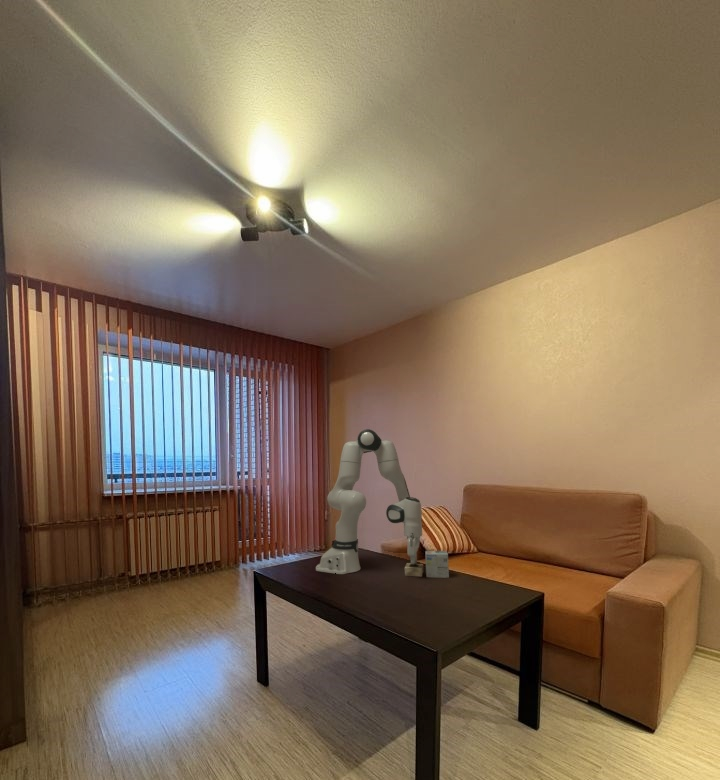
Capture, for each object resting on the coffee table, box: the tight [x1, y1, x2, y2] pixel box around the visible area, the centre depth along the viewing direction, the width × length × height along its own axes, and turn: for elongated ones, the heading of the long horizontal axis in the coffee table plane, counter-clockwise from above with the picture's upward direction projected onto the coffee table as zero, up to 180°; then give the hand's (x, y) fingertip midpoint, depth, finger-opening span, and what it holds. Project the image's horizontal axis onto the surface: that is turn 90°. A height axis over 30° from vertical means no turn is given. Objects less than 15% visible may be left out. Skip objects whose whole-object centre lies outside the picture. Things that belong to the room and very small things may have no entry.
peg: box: [409, 551, 418, 567], centre depth 195 cm, size 3×3×9 cm
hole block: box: [404, 562, 424, 577], centre depth 195 cm, size 8×8×4 cm
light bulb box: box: [424, 550, 450, 579], centre depth 192 cm, size 11×7×11 cm, turn 84°
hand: (413, 561), depth 195 cm, fingers closed on peg, 3 cm apart
